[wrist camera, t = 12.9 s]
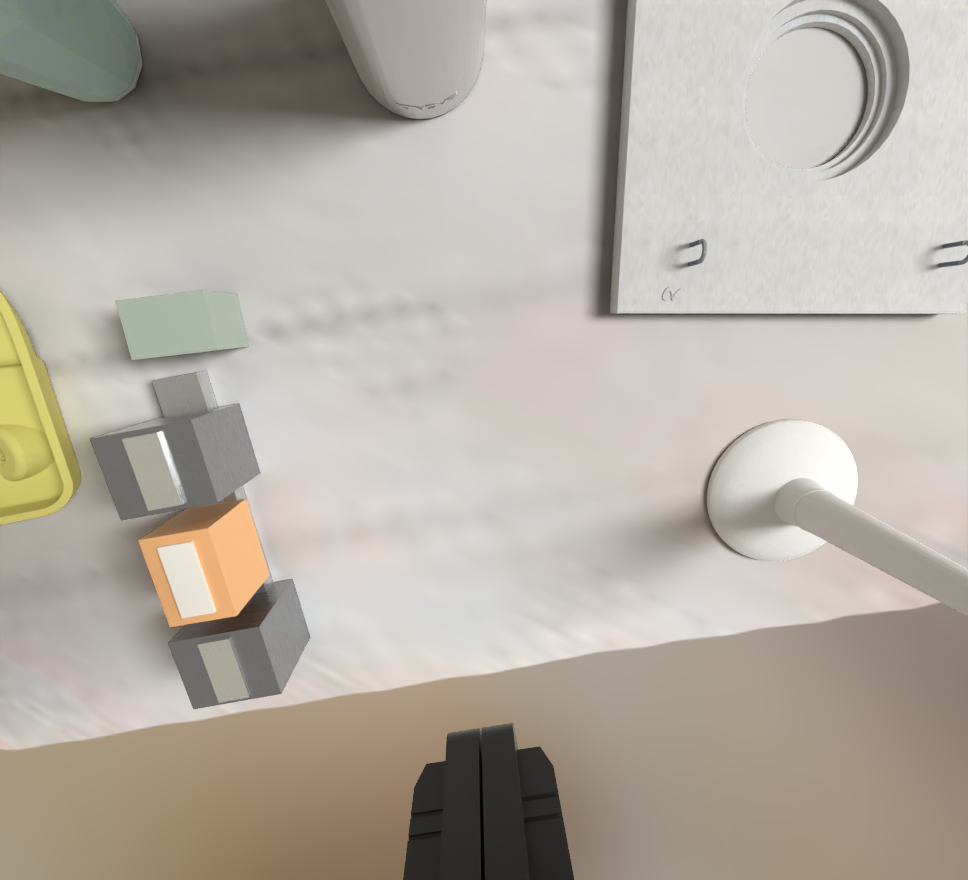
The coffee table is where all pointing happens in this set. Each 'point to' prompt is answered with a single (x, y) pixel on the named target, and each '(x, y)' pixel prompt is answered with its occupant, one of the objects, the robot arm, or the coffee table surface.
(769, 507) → the candlestick
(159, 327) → the green block
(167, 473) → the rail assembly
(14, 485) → the plastic component
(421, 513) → the coffee table surface
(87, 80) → the disposable coffee cup
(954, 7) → the mounting panel
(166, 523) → the orange module
